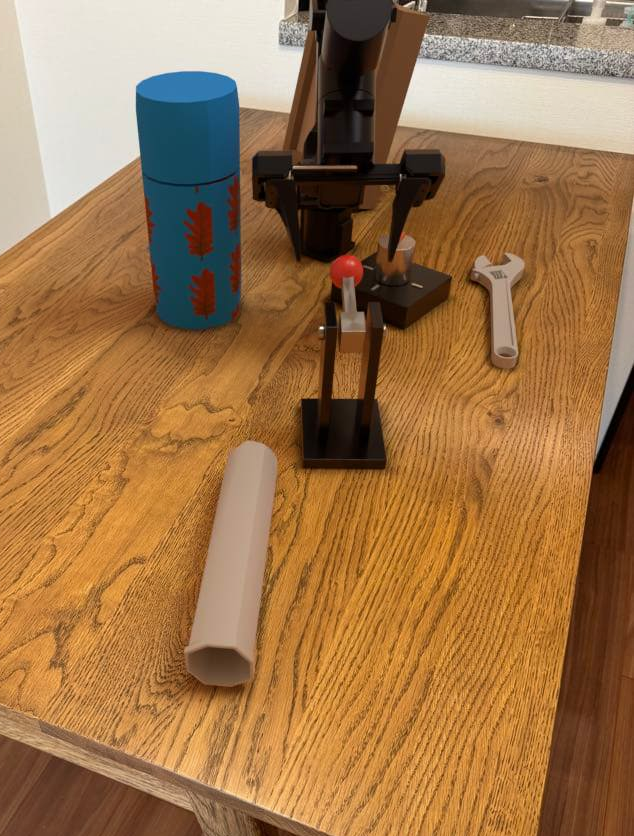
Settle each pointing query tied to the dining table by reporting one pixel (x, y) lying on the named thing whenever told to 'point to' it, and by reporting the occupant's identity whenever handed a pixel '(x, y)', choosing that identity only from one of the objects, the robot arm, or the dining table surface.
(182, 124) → the thermos
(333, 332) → the lever stand
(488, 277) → the adjustable wrench
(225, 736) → the dining table surface
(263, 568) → the tube
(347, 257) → the lever
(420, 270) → the dial base
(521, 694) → the dining table surface
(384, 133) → the photo frame
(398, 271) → the dial knob
